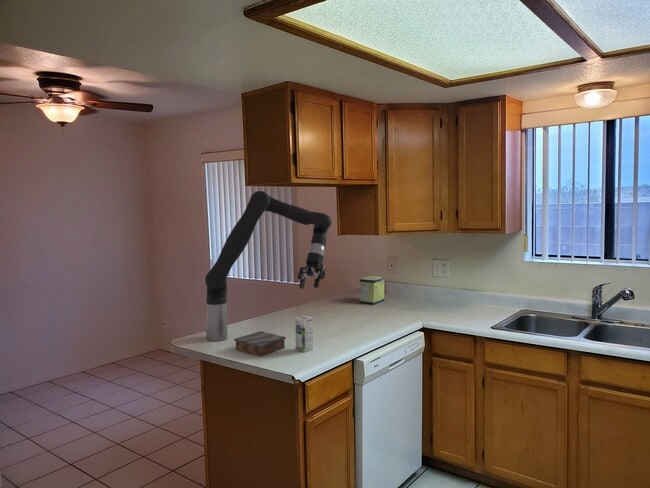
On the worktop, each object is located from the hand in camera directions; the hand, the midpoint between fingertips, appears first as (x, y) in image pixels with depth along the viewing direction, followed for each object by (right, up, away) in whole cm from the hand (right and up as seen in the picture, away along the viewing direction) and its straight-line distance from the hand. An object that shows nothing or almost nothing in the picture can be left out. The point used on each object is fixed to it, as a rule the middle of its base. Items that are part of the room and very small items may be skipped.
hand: (308, 287), depth 218 cm
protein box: (+38, -18, +94) cm, 103 cm away
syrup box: (-2, -27, -6) cm, 27 cm away
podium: (-21, -27, -5) cm, 34 cm away
